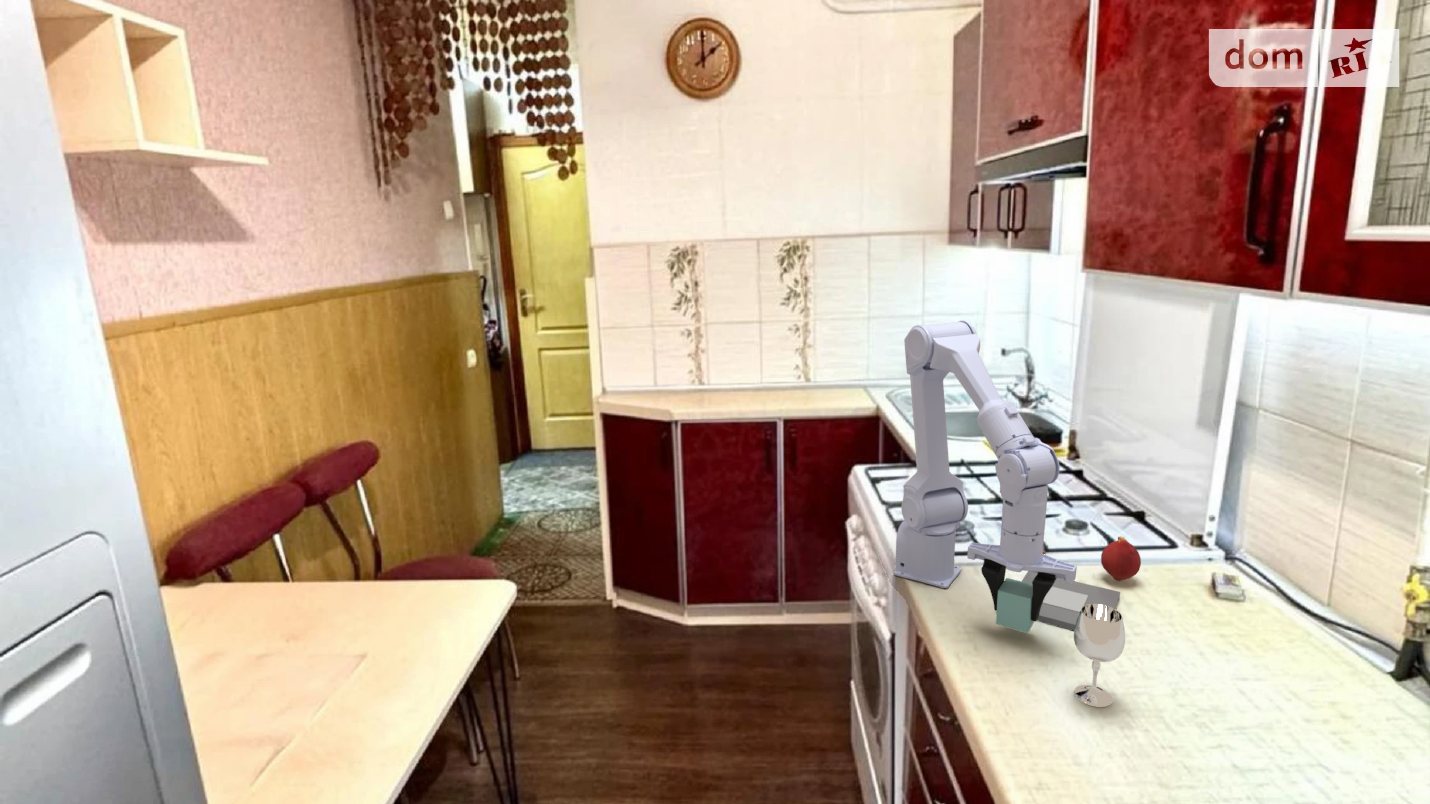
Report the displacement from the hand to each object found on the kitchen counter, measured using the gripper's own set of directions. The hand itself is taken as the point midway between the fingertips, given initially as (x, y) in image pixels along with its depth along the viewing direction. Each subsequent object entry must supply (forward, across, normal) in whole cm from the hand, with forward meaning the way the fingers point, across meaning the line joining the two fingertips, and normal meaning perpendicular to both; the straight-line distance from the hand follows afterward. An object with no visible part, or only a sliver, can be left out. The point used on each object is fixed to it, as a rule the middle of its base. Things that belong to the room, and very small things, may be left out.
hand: (1016, 612), depth 109 cm
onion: (+4, +10, +26) cm, 28 cm away
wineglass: (+4, +12, -9) cm, 16 cm away
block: (+1, 0, 0) cm, 1 cm away
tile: (+4, +4, +13) cm, 14 cm away
